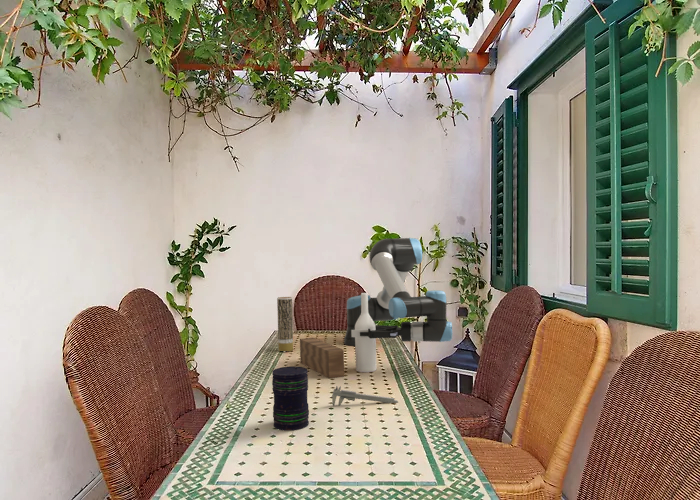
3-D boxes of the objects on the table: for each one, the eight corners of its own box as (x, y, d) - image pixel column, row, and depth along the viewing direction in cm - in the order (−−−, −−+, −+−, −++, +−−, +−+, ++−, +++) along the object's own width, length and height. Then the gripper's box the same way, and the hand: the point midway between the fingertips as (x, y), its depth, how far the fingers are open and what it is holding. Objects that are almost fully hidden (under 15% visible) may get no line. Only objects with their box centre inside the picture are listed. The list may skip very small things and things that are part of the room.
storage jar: (294, 433, 137) (292, 376, 137) (265, 427, 143) (264, 372, 142) (316, 421, 146) (315, 368, 146) (288, 416, 151) (287, 364, 151)
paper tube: (294, 349, 248) (293, 296, 247) (291, 352, 241) (290, 298, 240) (280, 349, 248) (279, 296, 248) (277, 352, 241) (275, 298, 241)
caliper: (332, 407, 160) (332, 386, 159) (332, 406, 161) (331, 385, 161) (398, 403, 162) (398, 383, 162) (397, 402, 163) (397, 382, 163)
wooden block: (300, 362, 219) (299, 338, 219) (313, 361, 222) (313, 337, 222) (329, 378, 192) (328, 351, 192) (344, 376, 195) (343, 349, 195)
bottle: (352, 371, 203) (350, 293, 202) (361, 366, 210) (359, 292, 210) (371, 373, 199) (369, 294, 199) (379, 368, 206) (378, 292, 206)
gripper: (410, 346, 191) (349, 346, 195) (412, 336, 212) (357, 336, 215) (410, 326, 191) (348, 326, 195) (412, 318, 212) (356, 318, 215)
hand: (353, 331), depth 205 cm, fingers open, 8 cm apart
